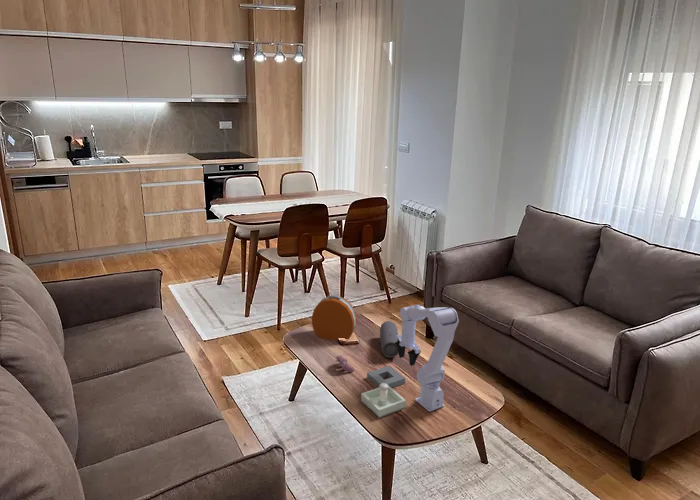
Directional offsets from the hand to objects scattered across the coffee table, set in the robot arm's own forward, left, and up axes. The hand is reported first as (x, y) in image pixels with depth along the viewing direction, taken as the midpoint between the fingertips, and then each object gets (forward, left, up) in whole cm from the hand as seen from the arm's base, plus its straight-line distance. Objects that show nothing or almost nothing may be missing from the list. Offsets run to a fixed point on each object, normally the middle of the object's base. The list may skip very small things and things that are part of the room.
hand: (406, 360), depth 218 cm
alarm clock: (+52, +7, -10) cm, 53 cm away
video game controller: (+22, +19, -10) cm, 30 cm away
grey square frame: (+4, +8, -9) cm, 13 cm away
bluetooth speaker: (+27, -10, -10) cm, 30 cm away
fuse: (-10, +19, -9) cm, 23 cm away
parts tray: (-10, +19, -9) cm, 23 cm away
